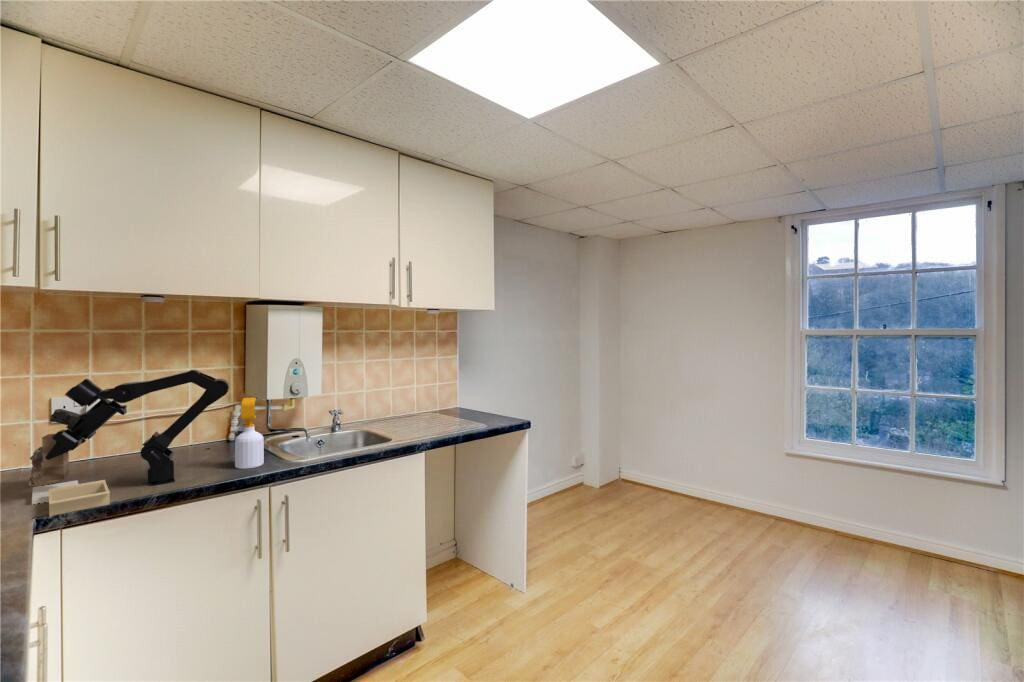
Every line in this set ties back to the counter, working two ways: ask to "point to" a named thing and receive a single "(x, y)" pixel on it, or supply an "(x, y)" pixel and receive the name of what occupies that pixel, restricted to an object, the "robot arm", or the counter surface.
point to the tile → (47, 491)
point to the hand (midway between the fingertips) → (49, 456)
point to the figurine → (38, 469)
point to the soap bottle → (249, 440)
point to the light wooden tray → (78, 497)
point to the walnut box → (54, 461)
